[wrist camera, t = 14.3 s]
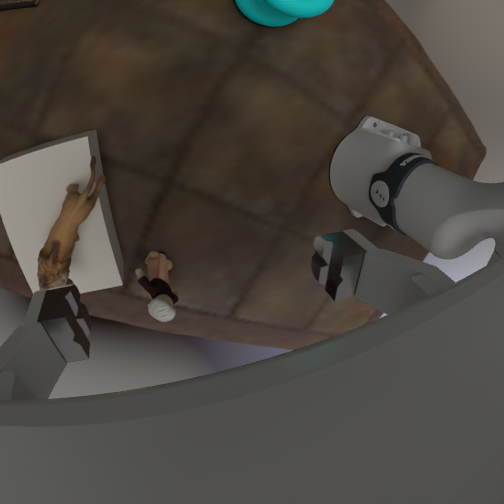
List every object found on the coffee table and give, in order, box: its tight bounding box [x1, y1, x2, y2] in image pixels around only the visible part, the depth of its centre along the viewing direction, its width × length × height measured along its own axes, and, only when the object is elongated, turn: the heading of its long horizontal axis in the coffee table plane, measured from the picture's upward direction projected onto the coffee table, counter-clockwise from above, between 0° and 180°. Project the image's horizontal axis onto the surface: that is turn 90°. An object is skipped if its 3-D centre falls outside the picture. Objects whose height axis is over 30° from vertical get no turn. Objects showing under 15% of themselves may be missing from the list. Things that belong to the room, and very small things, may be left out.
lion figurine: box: [37, 155, 106, 290], centre depth 26 cm, size 15×5×9 cm, turn 150°
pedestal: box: [0, 129, 124, 294], centre depth 32 cm, size 14×20×6 cm
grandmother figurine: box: [135, 251, 179, 322], centre depth 38 cm, size 8×4×13 cm, turn 50°
